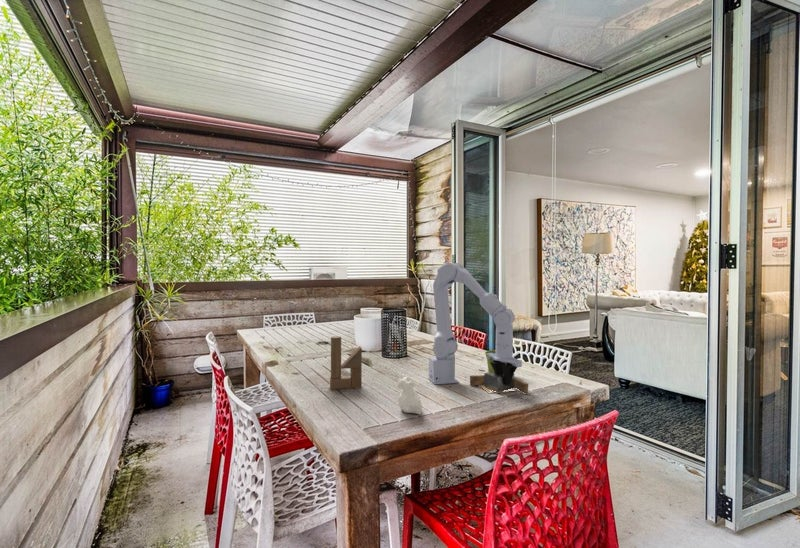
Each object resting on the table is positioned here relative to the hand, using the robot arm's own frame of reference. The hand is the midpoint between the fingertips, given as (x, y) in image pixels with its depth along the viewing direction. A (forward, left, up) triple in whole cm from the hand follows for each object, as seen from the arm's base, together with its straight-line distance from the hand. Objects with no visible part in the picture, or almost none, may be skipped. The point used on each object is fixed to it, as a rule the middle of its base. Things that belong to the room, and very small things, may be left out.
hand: (503, 383), depth 142 cm
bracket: (-1, +2, -2) cm, 3 cm away
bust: (-37, -12, -3) cm, 39 cm away
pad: (-2, +2, -2) cm, 4 cm away
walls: (-2, +2, -2) cm, 3 cm away
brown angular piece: (-53, +15, -3) cm, 55 cm away
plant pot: (+7, +19, -3) cm, 20 cm away
